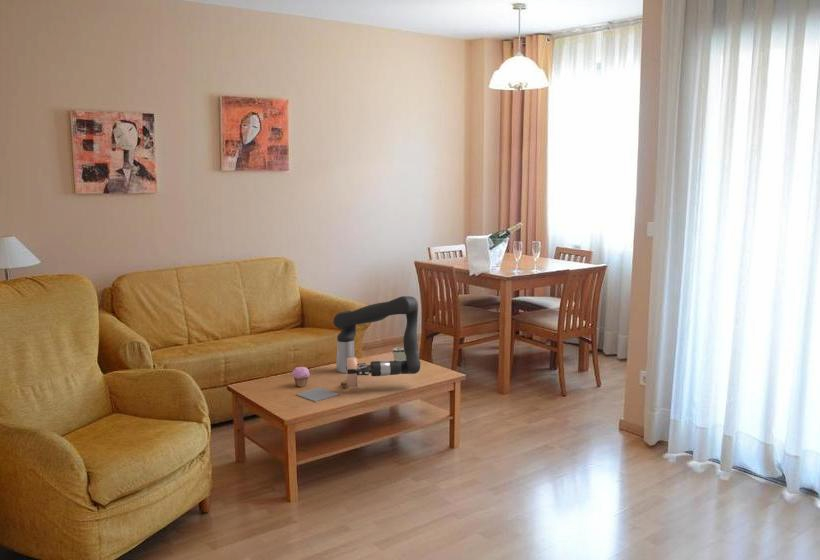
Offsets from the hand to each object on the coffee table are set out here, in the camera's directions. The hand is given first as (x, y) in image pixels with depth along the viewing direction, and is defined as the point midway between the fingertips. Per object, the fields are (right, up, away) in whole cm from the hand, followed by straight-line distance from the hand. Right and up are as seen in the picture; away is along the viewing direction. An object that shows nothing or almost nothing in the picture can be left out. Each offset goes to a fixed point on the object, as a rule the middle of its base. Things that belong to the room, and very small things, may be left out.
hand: (346, 370), depth 364 cm
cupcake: (-24, -10, +11) cm, 29 cm away
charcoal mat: (-14, -12, -4) cm, 19 cm away
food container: (+28, -4, +50) cm, 57 cm away
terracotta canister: (+2, -8, +2) cm, 8 cm away
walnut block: (-1, -10, +11) cm, 15 cm away
